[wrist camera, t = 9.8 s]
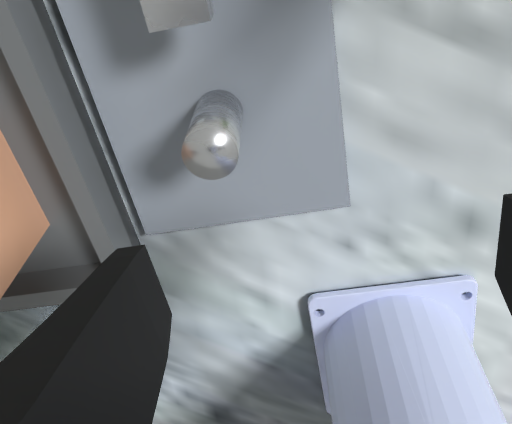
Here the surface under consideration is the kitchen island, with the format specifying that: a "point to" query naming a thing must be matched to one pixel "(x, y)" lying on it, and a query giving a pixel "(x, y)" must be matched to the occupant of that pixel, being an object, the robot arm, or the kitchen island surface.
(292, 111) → the slate board
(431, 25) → the kitchen island surface
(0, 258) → the orange hollow square box
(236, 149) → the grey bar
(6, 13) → the tray
